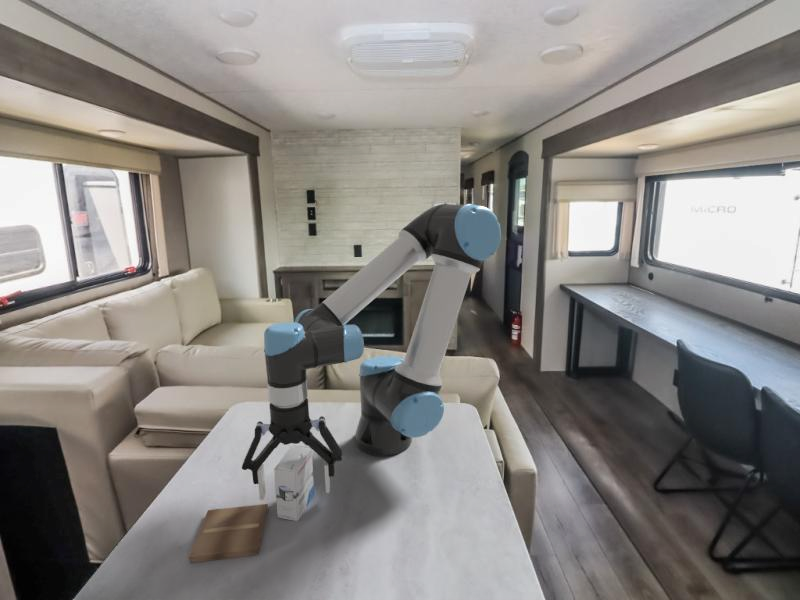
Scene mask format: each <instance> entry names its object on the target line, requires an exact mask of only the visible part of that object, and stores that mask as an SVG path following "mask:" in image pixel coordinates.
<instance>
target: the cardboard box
mask: <svg viewBox="0 0 800 600" xmlns="http://www.w3.org/2000/svg"><path fill="white" fill-rule="evenodd" d="M268 511H269V504H268V503H261V504H252V505H251V504H250V505H246V506H245V505H244V506H235V507H225V508H216V509H208V510H207V512H206V515H205V516H204V519H203V521H202V524H201V527H200V529H199V530H198V533H197V536H196V539H195V541H194V543H193V546H192V548H191V551H190V554H189V556H188V561H189V563H190V564H192V563H198V562H199V563H201V562H209V561H216V560H223V559H232V558H241V557H247V556H249V557H250V556H257V555H259V553H260V548H261V544H262V540H263V534H264V530H265V526H266V521H267V516H268Z"/></svg>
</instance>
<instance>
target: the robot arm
mask: <svg viewBox="0 0 800 600" xmlns="http://www.w3.org/2000/svg"><path fill="white" fill-rule="evenodd" d="M397 236H398V238H396V239H395V240H394V241H393V242H391V244H390V245H388V246H387V247H386V248H384V250H382V251H381V252H380V253H379V254H377V256H375V257H374V258H372V259H371V260H370V261H369V262H368V263H367V264H366V265H364V266H363V267H362V268H361V269H360V270H359V271H357V272H356V273H355V274H354V275H353V276H352V277H350V278H349V279H348V280H347V281H346V282H344V283H343V284H342V285H341V286H339V288H337V289H336V290H335V291H334V292H333V293H331V294H330V295H329V296H328V297H326V299H325V300H323V301H321V303H319V304H318V305H317V306H316V307H315V308H308V309H304V310H302V311H301V312H299V313H298V314H297V316H296V317H295V320H294V322H293V321H291V322H290V321H288V322H286V321H285V322H284V321H282V322H278V323H274V324H271V325H269V326H268V327H266V329H265V330H264V332H263V333H264V334H263V338H264V340H263V342H264V344H263V345H264V349H263V353H264V358H265V359H264V360H265V370H266V379H267V393H268V401H269V414H270V415H269V416H270V417H269V418H270V423H263V421H258V422H256V425H255V428H254V437H253V438H252V441H251V443H250V445H249V448H248V450H247V453H246V455H245V457H244V459H243V462H242V465H241V469H242V470H244V471H246V470H250V471H251V474H252V483H253V485H258V491H259V500H260V501H263V500H265V497H266V492H267V489H266V478H265V477H266V476H265V468H264V462H266V460H267V459H268V458H269V456H270V455H271V454H272V452H273V451H274V450H275V449H277V448H278V446H279V444H283V445H289V444H295V445H296V444H300V442H302V443H303V444H304V445H306V446H307V447H310V448H311V449H312V451H313V452H314V453H316V454H317V455H318V456H319V457H320V458H321V459H322V460H323V461H324V479H325V480H324V483H325V484H324V485H325V494H330V490H331V488H330V487H331V486H330V485H331V483H330V481H331V480H330V478H331V477H334V476H335V463H336V462H342V460H343V450H342V449H341V447H340V446H339V444H338V442H337V441H336V439H335V438H334V436H333V434H332V433H331V431H330V429H329V428H328V426H327V423H326V418H325V417H324V416H323V415H321V416H319V418H318V419H313V420H312V419H311V417H310V411H309V399H308V396H309V395H308V394H309V393H308V380H307V377H308V376H307V375H308V374H307V370H310V369H316V368H321V367H326V366H332V365H333V366H334V365H336V364H337V365H338V364H342V363H345V364H346V363H348V362H352V361H355V360H359V359H361V357H362V356H363V354H364V349H365V343H364V337H363V333H362V330H361V329H360V327H359V326H357V325H356V324H347V323H348V322H349V321H350V320H352V319H354V317H355V316H356V315H358V314H359V313H360V312H361V311H362V310H363V309H364V308H365V307H367V306H368V305H369V304H370V303H371V302H373V300H375V299H376V298H377V297H378V296H379V295H381V294H382V293H383V292H384V291H385V290H387V288H389V287H390V286H391V285H392V284H394V282H396V281H397V280H398V279H399V278H401V276H403V275H404V274H405V273H406V272H407V271H408V270H410V268H412V267H413V266H414V265H415V264H416V263H418V262H425V261H427V260H428V259H429V258H430V257H431V258H432V260H433V262H434V267H433V270H432V273H431V276H430V280H429V283H428V285H427V288H426V291H425V295H424V297H423V301H422V303H421V307H420V311H419V313H418V317H417V320H416V323H415V326H414V329H413V332H412V336H411V337H410V341H409V344H408V347H407V349H406V354H405V357H404V359H403V358H402V357H400V356H396V355H381V356H374V357H371V358H368V359H365V360H364V361H362V362H361V364H360V365H359V374H358V376H359V383H360V384H359V388H360V389H359V392H360V394H359V395H360V408H361V409H360V411H361V413H360V418H359V421H358V424H357V427H356V431H355V444H356V446H357V447H358V449H359V450H360V451H362V452H364V453H366V454H369V455H373V456H381V457H385V456H387V457H388V456H393V455H397V454H399V453H401V452H403V451H406V449H408V448H409V447H410V446H411V444H412V441H413V439H414V438H415V439H416V438H421V437H424V436H427V434H428V433H429V432H432V431H434V429H436V427H438V425H439V424H440V422H441V421H442V419H443V416H444V413H445V405H444V403H443V399H442V397H440V391H441V389H442V386H443V381H442V379H441V377H440V370H441V368H442V365H443V362H444V358H445V356H446V353H447V349H448V346H449V343H450V340H451V337H452V334H453V331H454V327H455V326H456V325H455V324H456V322H457V319H458V317H459V313H460V310H461V307H462V303H463V300H464V297H465V295H466V291H467V289H468V285H469V283H470V279H471V277H472V276H473V275H474V274H476V273H478V272H479V271H480V270H481V268H482V265H483V262H484V261H486V260H487V259H490V258H491V257H492V256H493V255H494V254H496V252H497V251H498V250H499V247H500V243H501V238H502V229H501V224H500V223H499V221H498V217H497V215H496V214H495V213H494V212H493V211H492V210H491V209H490V208H488V207H486V206H484V205H477V204H473V203H467V204H452V203H441V204H437V205H435V206H433V207H430V208H429V209H427V210H425V211H423V212H422V213H421V214H419V215H418V216H416V217H415V218H414V219H413V220H412V221H410V222H409V223H407V225H405V227H403V228H402V229H400V231H399V232H398V235H397ZM312 428H314V429H315V430H316V431H317V432H319V433H320V435H321V438H322V439H323V441H324V443H325V444H326V445H327V447H326V446H325V445H324V444H323V443H322V442H321V441H320V440H319V439H318V438H317V437H316V436H314V435H313V432H312V431H311V430H312ZM268 432H269V433H271V435H272V437H271V439H270V440H269V441H268V443H266V445H265V446H264V447H263V449H262V450H261V451H260V453H259V454H258V456H256V458H254V459H253V457H254V455H255V453H256V451H257V448H258V447H259V444H260V442H261V439H262V437H263V436H265V435H266V434H267V433H268Z"/></svg>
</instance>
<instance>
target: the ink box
mask: <svg viewBox="0 0 800 600" xmlns="http://www.w3.org/2000/svg"><path fill="white" fill-rule="evenodd" d="M313 465H314V464H313V450H312V449H311V448H310V447H309V446H299V445H291V446H290V448H289V449H288V450H287V451H286V453H284V455H283V457H282V458H281V460H280V461H279V462H278V463H277V464H276V466H275V467H274V468H273V470H274V483H275V498H276V514H277V518H279V519H284V520H289V521H294V522H298V521H299V520H300V519H301V517H302V515H303V514H304V512H305V510H306V508H307V507H308V505H309V502H310V501H311V499H312V497H313V496H314V494H315V485H314V468H313V467H314V466H313Z"/></svg>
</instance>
